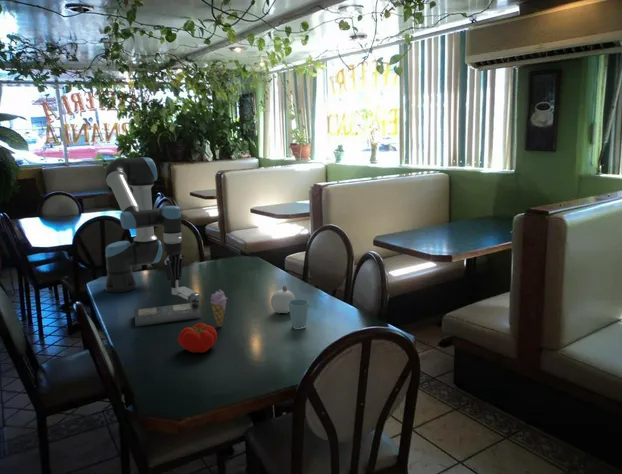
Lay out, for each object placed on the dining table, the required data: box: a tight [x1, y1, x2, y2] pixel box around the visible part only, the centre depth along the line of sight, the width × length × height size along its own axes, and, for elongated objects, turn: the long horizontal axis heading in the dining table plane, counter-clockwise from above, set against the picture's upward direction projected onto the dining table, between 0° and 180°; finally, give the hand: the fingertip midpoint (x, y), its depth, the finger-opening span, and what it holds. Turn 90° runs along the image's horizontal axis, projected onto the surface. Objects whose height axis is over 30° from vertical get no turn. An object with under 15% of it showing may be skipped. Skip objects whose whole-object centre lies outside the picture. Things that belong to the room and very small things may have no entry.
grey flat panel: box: [177, 286, 201, 302], centre depth 221 cm, size 6×18×2 cm, turn 41°
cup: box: [289, 298, 309, 328], centre depth 198 cm, size 8×8×10 cm
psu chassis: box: [134, 300, 202, 327], centre depth 211 cm, size 12×26×5 cm, turn 110°
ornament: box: [270, 285, 296, 314], centre depth 214 cm, size 10×10×12 cm
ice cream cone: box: [210, 289, 229, 328], centre depth 199 cm, size 7×6×15 cm
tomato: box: [177, 322, 218, 353], centre depth 177 cm, size 14×13×9 cm
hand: (175, 294), depth 221 cm, fingers closed
